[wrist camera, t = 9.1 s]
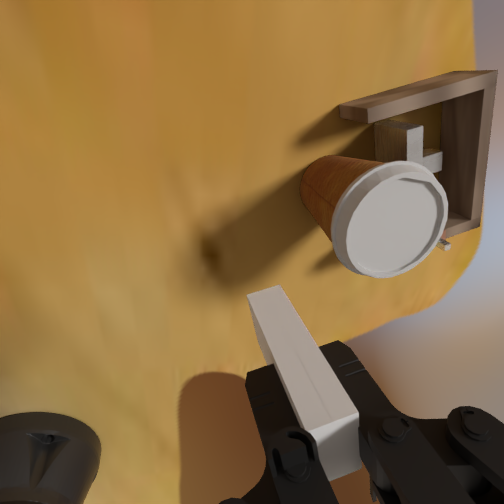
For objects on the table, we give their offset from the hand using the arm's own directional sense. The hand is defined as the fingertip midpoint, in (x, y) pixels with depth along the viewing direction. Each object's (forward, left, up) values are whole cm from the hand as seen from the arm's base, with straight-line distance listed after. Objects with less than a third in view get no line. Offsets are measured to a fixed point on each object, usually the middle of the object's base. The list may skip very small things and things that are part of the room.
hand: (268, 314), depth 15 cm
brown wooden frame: (+21, -4, -21) cm, 30 cm away
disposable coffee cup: (+12, -4, -21) cm, 24 cm away
